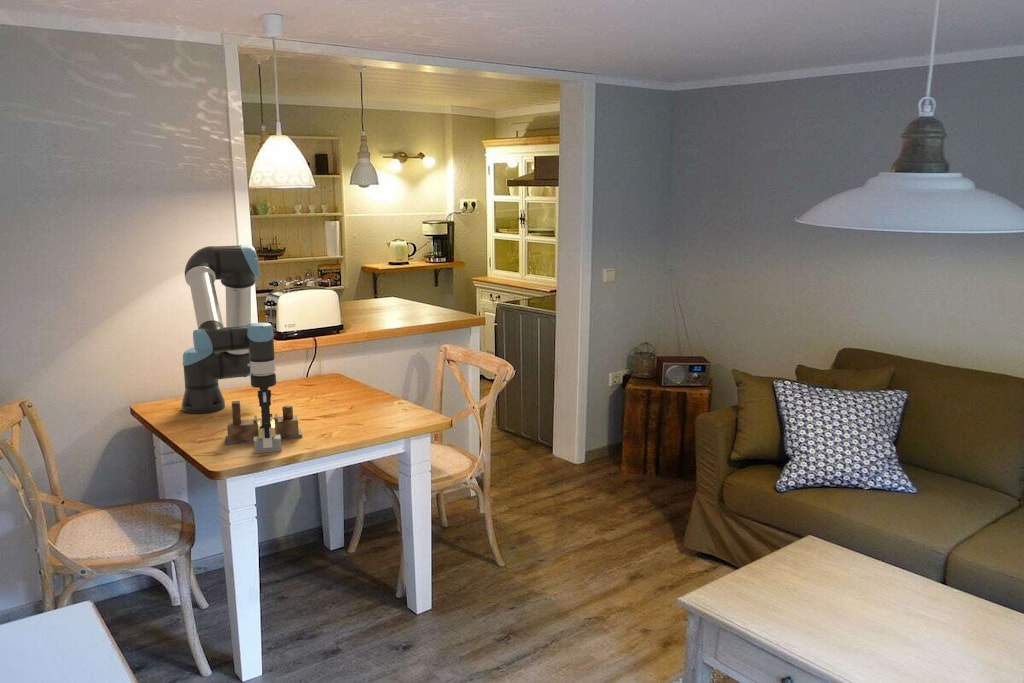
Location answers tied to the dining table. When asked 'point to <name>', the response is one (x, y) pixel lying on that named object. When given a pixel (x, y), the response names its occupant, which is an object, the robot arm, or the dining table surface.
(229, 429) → the plane body
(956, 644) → the dining table surface
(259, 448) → the block
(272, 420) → the lever cap
